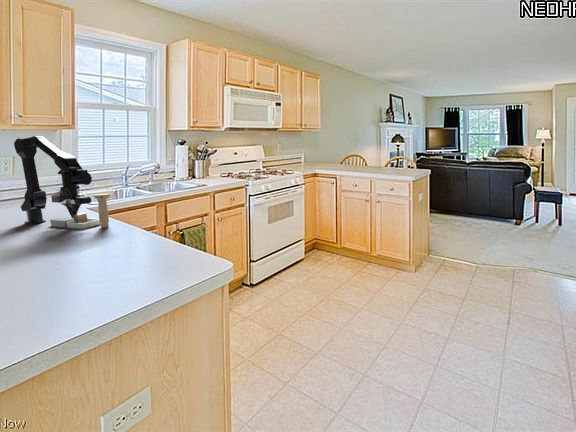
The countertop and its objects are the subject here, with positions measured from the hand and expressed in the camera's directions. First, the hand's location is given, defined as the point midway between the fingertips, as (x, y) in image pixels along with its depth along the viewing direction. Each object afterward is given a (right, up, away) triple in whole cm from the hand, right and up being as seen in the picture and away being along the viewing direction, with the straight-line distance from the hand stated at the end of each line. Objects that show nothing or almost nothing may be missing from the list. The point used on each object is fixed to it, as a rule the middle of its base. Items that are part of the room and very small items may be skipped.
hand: (73, 218), depth 182 cm
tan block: (+2, -1, 0) cm, 2 cm away
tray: (+5, -4, 0) cm, 6 cm away
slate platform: (-5, -3, +2) cm, 6 cm away
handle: (+16, -4, -3) cm, 17 cm away
